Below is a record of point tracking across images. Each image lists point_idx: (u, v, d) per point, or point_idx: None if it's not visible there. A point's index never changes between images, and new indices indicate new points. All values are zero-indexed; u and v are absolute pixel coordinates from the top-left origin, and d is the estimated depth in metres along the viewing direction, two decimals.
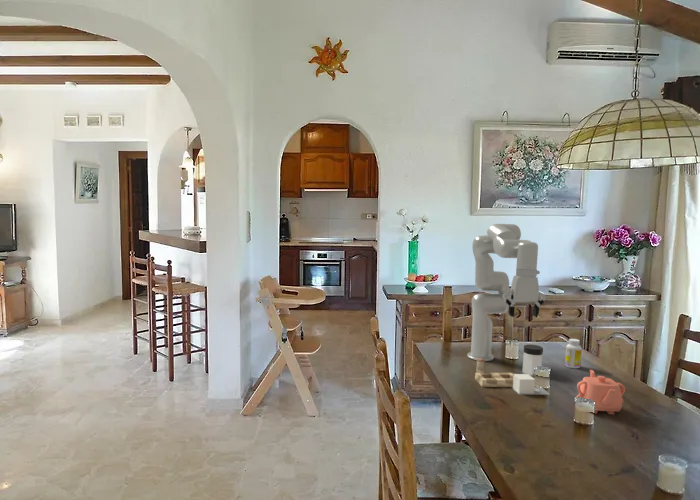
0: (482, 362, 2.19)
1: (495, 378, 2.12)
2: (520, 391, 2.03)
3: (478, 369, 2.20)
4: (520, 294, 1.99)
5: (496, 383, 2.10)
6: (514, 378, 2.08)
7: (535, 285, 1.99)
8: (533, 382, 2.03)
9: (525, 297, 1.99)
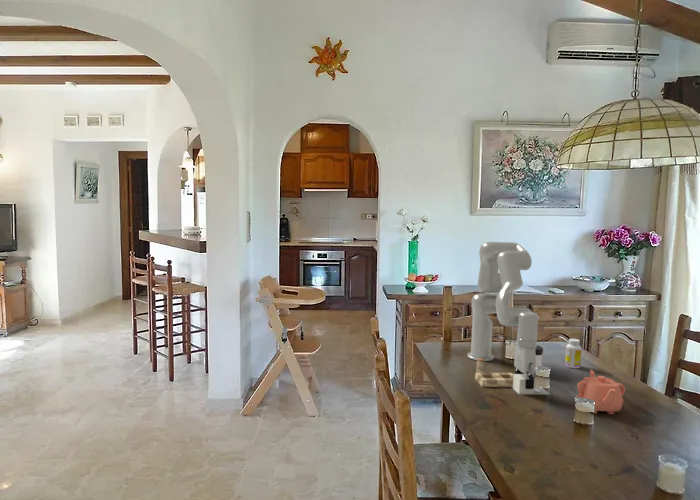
0: (482, 362, 2.19)
1: (495, 378, 2.12)
2: (520, 391, 2.03)
3: (478, 369, 2.20)
4: None
5: (496, 383, 2.10)
6: (514, 378, 2.08)
7: None
8: None
9: None
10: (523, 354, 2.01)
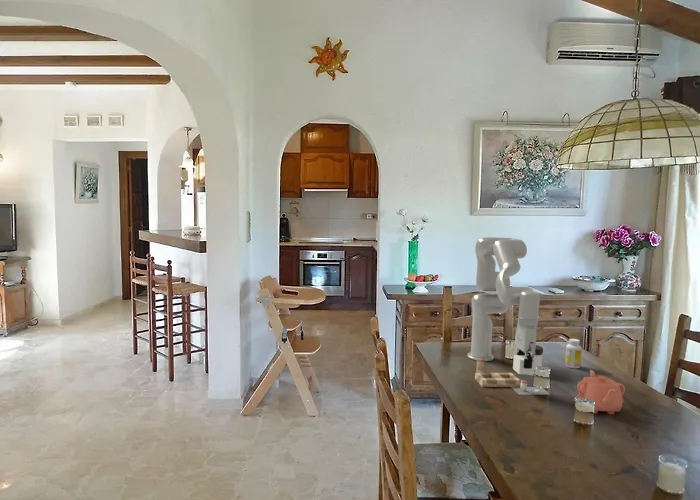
0: (482, 362, 2.19)
1: (495, 378, 2.12)
2: (520, 372, 2.03)
3: (478, 369, 2.20)
4: None
5: (496, 383, 2.10)
6: (514, 359, 2.07)
7: None
8: (533, 363, 2.03)
9: None
10: (524, 333, 2.00)
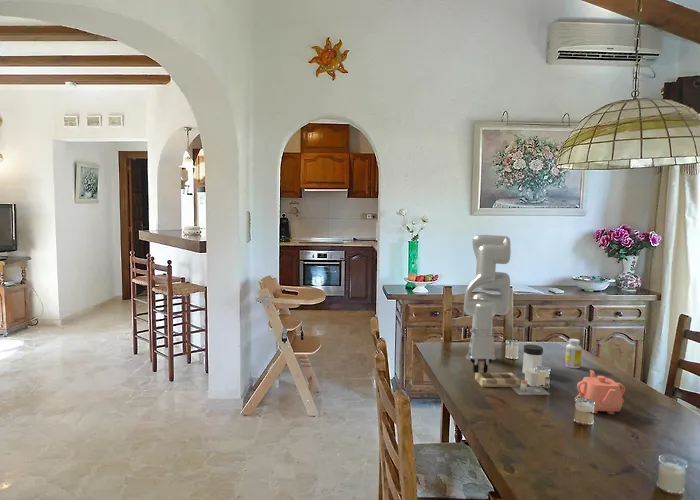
0: (482, 362, 2.19)
1: (495, 378, 2.12)
2: (532, 385, 2.11)
3: (478, 369, 2.20)
4: None
5: (496, 383, 2.10)
6: (526, 372, 2.16)
7: None
8: None
9: None
10: (491, 342, 2.17)
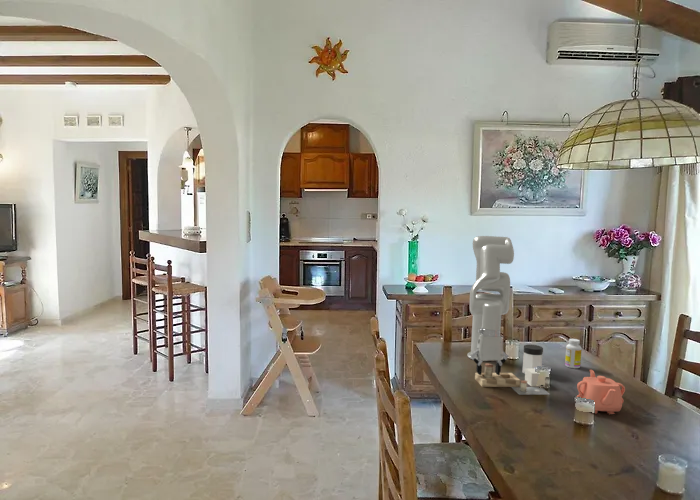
0: (490, 367, 2.12)
1: (495, 378, 2.12)
2: (532, 385, 2.11)
3: (486, 375, 2.13)
4: None
5: (496, 383, 2.10)
6: (526, 372, 2.16)
7: None
8: None
9: None
10: (500, 343, 2.10)
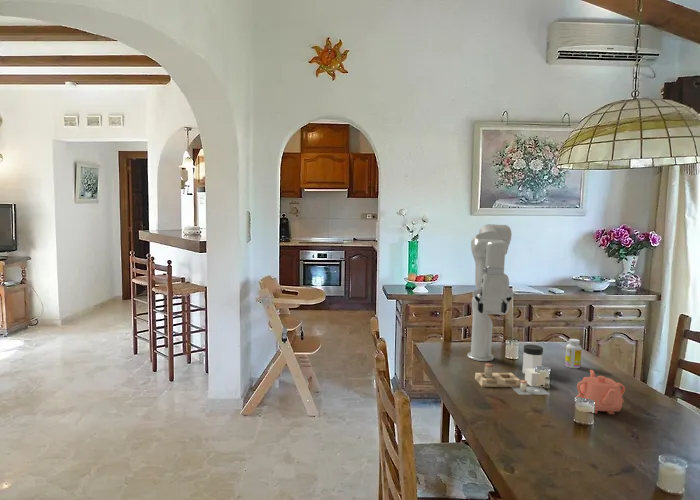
0: (490, 367, 2.12)
1: (495, 378, 2.12)
2: (532, 385, 2.11)
3: (486, 375, 2.13)
4: None
5: (496, 383, 2.10)
6: (526, 372, 2.16)
7: None
8: None
9: None
10: (504, 281, 2.08)
